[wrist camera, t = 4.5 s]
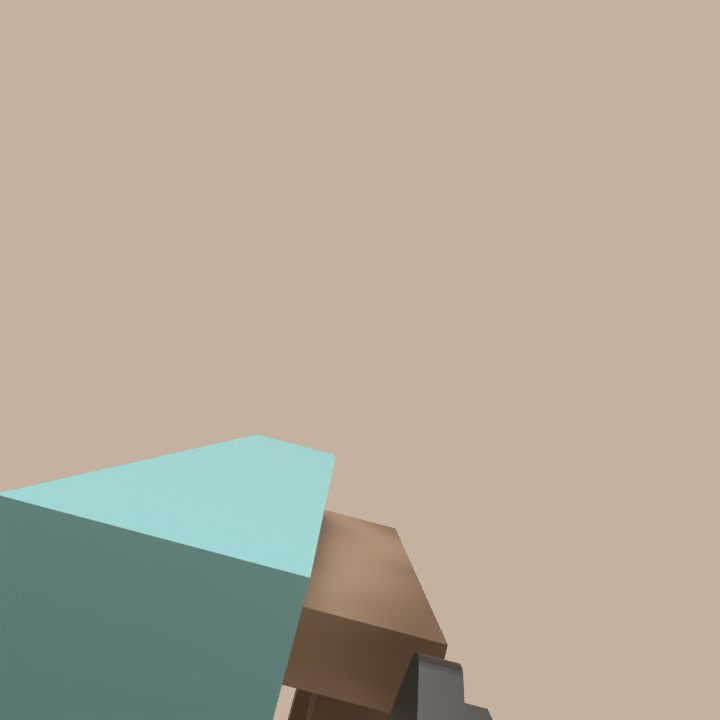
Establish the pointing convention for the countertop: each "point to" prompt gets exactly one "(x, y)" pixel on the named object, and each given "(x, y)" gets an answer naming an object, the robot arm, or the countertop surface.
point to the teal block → (159, 584)
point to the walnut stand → (358, 624)
